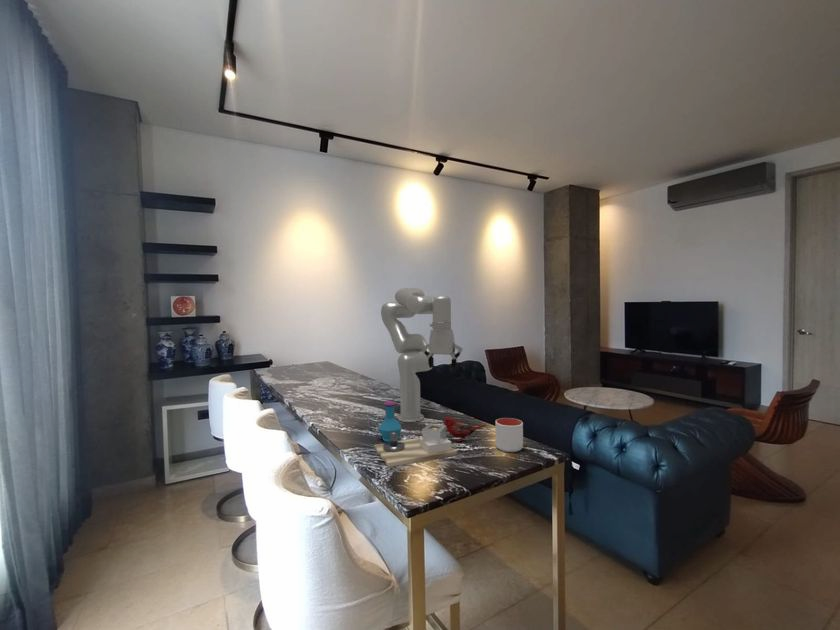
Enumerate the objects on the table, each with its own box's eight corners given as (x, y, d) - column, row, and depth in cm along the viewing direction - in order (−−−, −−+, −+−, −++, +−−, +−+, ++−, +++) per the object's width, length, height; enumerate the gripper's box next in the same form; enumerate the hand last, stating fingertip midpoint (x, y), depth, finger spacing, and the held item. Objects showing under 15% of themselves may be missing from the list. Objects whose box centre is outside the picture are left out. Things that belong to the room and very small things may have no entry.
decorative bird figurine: (441, 441, 151) (441, 416, 151) (485, 439, 153) (485, 414, 152) (442, 443, 148) (442, 418, 148) (487, 441, 150) (487, 416, 149)
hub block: (419, 445, 143) (418, 427, 142) (440, 441, 146) (440, 423, 146) (428, 454, 134) (428, 434, 134) (451, 450, 138) (451, 431, 137)
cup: (509, 455, 136) (509, 427, 136) (490, 446, 144) (489, 420, 144) (528, 449, 141) (528, 422, 141) (509, 441, 150) (508, 416, 149)
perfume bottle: (389, 444, 148) (389, 406, 148) (374, 439, 154) (373, 402, 154) (406, 438, 155) (405, 401, 154) (390, 433, 161) (390, 398, 161)
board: (374, 448, 144) (373, 444, 144) (436, 438, 153) (436, 435, 153) (387, 467, 127) (387, 463, 127) (457, 455, 137) (457, 450, 137)
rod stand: (380, 445, 143) (380, 430, 142) (400, 442, 146) (400, 427, 145) (386, 453, 135) (386, 437, 135) (407, 450, 138) (407, 434, 138)
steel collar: (422, 441, 138) (422, 429, 138) (429, 435, 145) (429, 423, 144) (440, 444, 135) (440, 431, 135) (446, 437, 142) (446, 425, 142)
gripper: (418, 326, 156) (419, 368, 156) (459, 327, 149) (459, 370, 149) (425, 325, 162) (426, 365, 163) (464, 326, 156) (465, 367, 156)
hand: (442, 367), depth 156 cm, fingers open, 9 cm apart
